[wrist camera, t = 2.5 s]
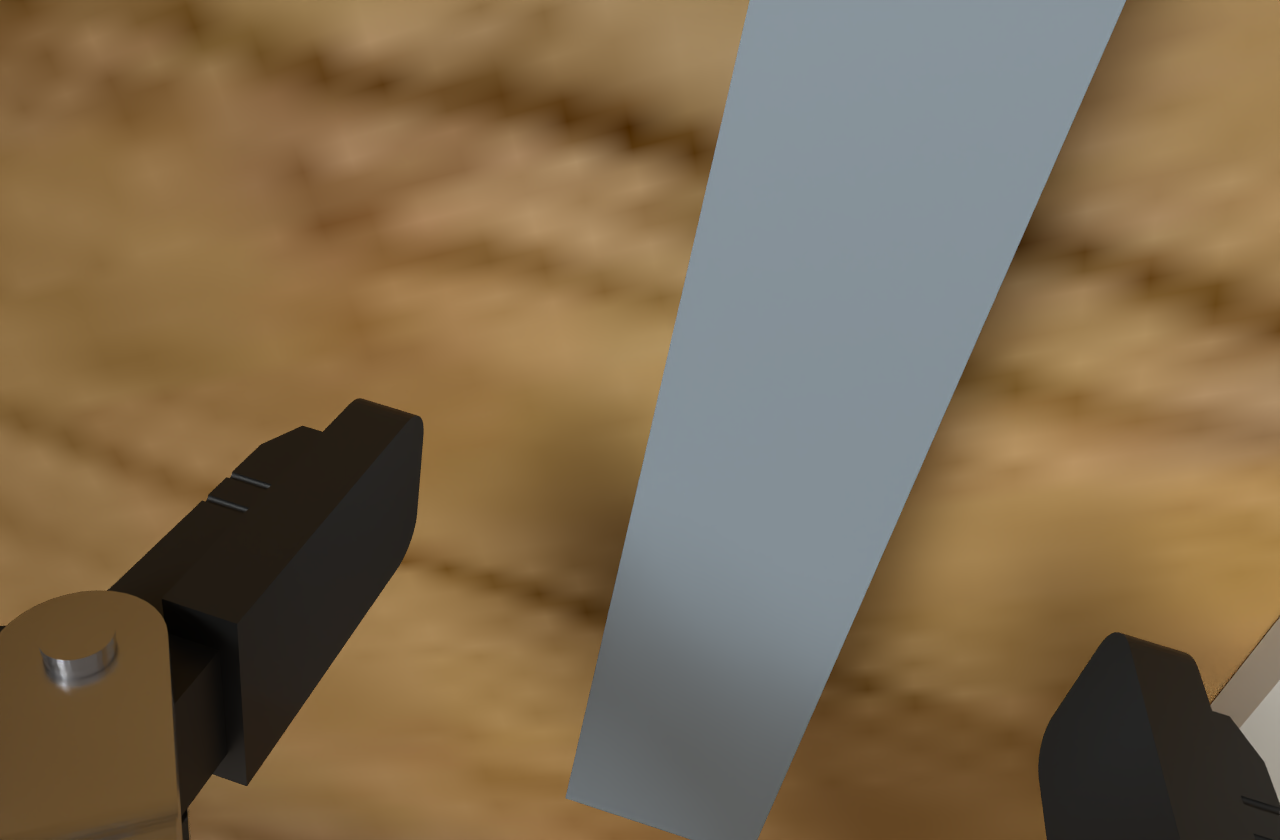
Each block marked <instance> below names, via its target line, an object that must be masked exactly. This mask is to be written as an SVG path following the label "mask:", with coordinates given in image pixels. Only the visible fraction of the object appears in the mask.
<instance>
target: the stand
mask: <svg viewBox="0 0 1280 840" xmlns="http://www.w3.org/2000/svg"><path fill="white" fill-rule="evenodd" d="M1210 706H1211V709H1212V711H1214V712H1218V713H1221V714H1224V715H1227V716H1230V717H1231V719H1232V720H1233V721H1234V723H1235V724H1236V725H1237V726H1238V728H1239V729H1240V730H1241V732H1242V733H1243V734H1244V736H1245V737H1246V738H1247V740H1248V741H1249V742H1250V744H1251V745H1252V746H1253V748H1254V749H1255V750H1256V752H1257V753H1258V754H1259V756H1260V757H1261V758H1262V759H1263V761H1264V762H1265V765H1266V767H1267V770H1268V773H1269V775H1270V778H1271V781H1272V783H1273V786H1274V789H1275V792H1276V794H1277V797H1278V800H1279V802H1280V618H1279V619H1278V620H1277V621H1276V623H1275V624H1274V625H1273V626H1272V628H1271V629H1270V630H1269V631H1268V633H1267V634H1266V635H1265V637H1264V638H1263V639H1262V640H1261V642H1260V643H1259V644H1258V645H1257V647H1256V648H1255V649H1254V650H1253V652H1252V653H1251V654H1250V656H1249V657H1248V658H1247V659H1246V661H1245V662H1244V663H1243V664H1242V666H1241V667H1240V668H1239V670H1238V671H1237V672H1236V673H1235V675H1234V676H1233V677H1232V678H1231V680H1230V681H1229V682H1228V683H1227V685H1226V686H1225V687H1224V689H1223V690H1222V691H1221V692H1220V694H1219V695H1218V696H1217V697H1216V699H1215V700H1214V701H1213V702H1212V704H1211V705H1210Z"/></svg>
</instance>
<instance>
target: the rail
mask: <svg viewBox="0 0 1280 840" xmlns="http://www.w3.org/2000/svg"><path fill="white" fill-rule="evenodd" d="M1125 2H1126V0H750V2H749V6H748V10H747V15H746V19H745V23H744V28H743V32H742V36H741V41H740V45H739V49H738V54H737V58H736V62H735V67H734V71H733V75H732V80H731V84H730V88H729V93H728V97H727V101H726V106H725V110H724V114H723V119H722V123H721V127H720V132H719V136H718V140H717V145H716V149H715V153H714V158H713V162H712V166H711V171H710V175H709V179H708V184H707V188H706V192H705V197H704V201H703V205H702V210H701V214H700V218H699V223H698V227H697V231H696V236H695V240H694V244H693V248H692V253H691V257H690V261H689V266H688V270H687V274H686V279H685V283H684V287H683V292H682V296H681V300H680V305H679V309H678V313H677V318H676V322H675V326H674V331H673V335H672V339H671V344H670V348H669V352H668V357H667V361H666V365H665V370H664V374H663V378H662V383H661V387H660V391H659V396H658V400H657V404H656V409H655V413H654V417H653V422H652V426H651V430H650V435H649V439H648V443H647V448H646V452H645V456H644V461H643V465H642V469H641V474H640V478H639V482H638V487H637V491H636V495H635V500H634V504H633V508H632V513H631V517H630V521H629V526H628V530H627V534H626V539H625V543H624V547H623V552H622V556H621V560H620V565H619V569H618V573H617V578H616V582H615V586H614V590H613V595H612V599H611V603H610V608H609V612H608V616H607V621H606V625H605V629H604V634H603V638H602V642H601V647H600V651H599V655H598V660H597V664H596V668H595V673H594V677H593V681H592V686H591V690H590V694H589V699H588V703H587V707H586V712H585V716H584V720H583V725H582V729H581V733H580V738H579V742H578V746H577V751H576V755H575V759H574V764H573V768H572V772H571V777H570V781H569V785H568V790H567V794H566V798H567V799H570V800H573V801H576V802H579V803H582V804H585V805H588V806H591V807H594V808H597V809H600V810H603V811H606V812H609V813H612V814H615V815H618V816H621V817H624V818H627V819H630V820H633V821H636V822H639V823H642V824H645V825H648V826H651V827H655V828H658V829H661V830H664V831H667V832H670V833H673V834H676V835H679V836H682V837H685V838H688V839H691V840H757V839H758V837H759V835H760V832H761V830H762V828H763V825H764V823H765V821H766V819H767V816H768V814H769V812H770V809H771V807H772V805H773V803H774V800H775V798H776V796H777V794H778V791H779V789H780V787H781V784H782V782H783V780H784V778H785V775H786V773H787V771H788V769H789V766H790V764H791V762H792V759H793V757H794V755H795V753H796V750H797V748H798V746H799V744H800V741H801V739H802V737H803V734H804V732H805V730H806V728H807V725H808V723H809V721H810V718H811V716H812V714H813V712H814V709H815V707H816V705H817V703H818V700H819V698H820V696H821V693H822V691H823V689H824V687H825V684H826V682H827V680H828V678H829V675H830V673H831V671H832V668H833V666H834V664H835V662H836V659H837V657H838V655H839V653H840V650H841V648H842V646H843V643H844V641H845V639H846V637H847V634H848V632H849V630H850V627H851V625H852V623H853V621H854V618H855V616H856V614H857V612H858V609H859V607H860V605H861V602H862V600H863V598H864V596H865V593H866V591H867V589H868V587H869V584H870V582H871V580H872V577H873V575H874V573H875V571H876V568H877V566H878V564H879V561H880V559H881V557H882V555H883V552H884V550H885V548H886V546H887V543H888V541H889V539H890V536H891V534H892V532H893V530H894V527H895V525H896V523H897V521H898V518H899V516H900V514H901V511H902V509H903V507H904V505H905V502H906V500H907V498H908V496H909V493H910V491H911V489H912V486H913V484H914V482H915V480H916V477H917V475H918V473H919V470H920V468H921V466H922V464H923V461H924V459H925V457H926V455H927V452H928V450H929V448H930V445H931V443H932V441H933V439H934V436H935V434H936V432H937V430H938V427H939V425H940V423H941V420H942V418H943V416H944V414H945V411H946V409H947V407H948V405H949V402H950V400H951V398H952V395H953V393H954V391H955V389H956V386H957V384H958V382H959V379H960V377H961V375H962V373H963V370H964V368H965V366H966V364H967V361H968V359H969V357H970V354H971V352H972V350H973V348H974V345H975V343H976V341H977V339H978V336H979V334H980V332H981V329H982V327H983V325H984V323H985V320H986V318H987V316H988V314H989V311H990V309H991V307H992V304H993V302H994V300H995V298H996V295H997V293H998V291H999V288H1000V286H1001V284H1002V282H1003V279H1004V277H1005V275H1006V273H1007V270H1008V268H1009V266H1010V263H1011V261H1012V259H1013V257H1014V254H1015V252H1016V250H1017V248H1018V245H1019V243H1020V241H1021V238H1022V236H1023V234H1024V232H1025V229H1026V227H1027V225H1028V223H1029V220H1030V218H1031V216H1032V213H1033V211H1034V209H1035V207H1036V204H1037V202H1038V200H1039V197H1040V195H1041V193H1042V191H1043V188H1044V186H1045V184H1046V182H1047V179H1048V177H1049V175H1050V172H1051V170H1052V168H1053V166H1054V163H1055V161H1056V159H1057V157H1058V154H1059V152H1060V150H1061V147H1062V145H1063V143H1064V141H1065V138H1066V136H1067V134H1068V132H1069V129H1070V127H1071V125H1072V122H1073V120H1074V118H1075V116H1076V113H1077V111H1078V109H1079V106H1080V104H1081V102H1082V100H1083V97H1084V95H1085V93H1086V91H1087V88H1088V86H1089V84H1090V81H1091V79H1092V77H1093V75H1094V72H1095V70H1096V68H1097V66H1098V63H1099V61H1100V59H1101V56H1102V54H1103V52H1104V50H1105V47H1106V45H1107V43H1108V41H1109V38H1110V36H1111V34H1112V31H1113V29H1114V27H1115V25H1116V22H1117V20H1118V18H1119V15H1120V13H1121V11H1122V9H1123V6H1124V4H1125Z"/></svg>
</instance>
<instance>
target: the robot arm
mask: <svg viewBox="0 0 1280 840" xmlns="http://www.w3.org/2000/svg"><path fill="white" fill-rule="evenodd" d="M423 431H424V428H423V421H422V419H421V417H419V416H417V415H414V414H410V413H407V412H404V411H401V410H397V409H394V408H391V407H388V406H384V405H381V404H378V403H374V402H371V401H368V400H365V399H360V398H359V399H356V400H354V401H353V402H352V403H350V404H349V405H348V406H347V407H346V408H345V409H344V411H343V412H342V413H341V414H340V415H339V416H338V417H337V418H336V419H335V420H334V421H333V422H332V423H331V424H330V425H329V426H328V427H327V428H326V429H325V430H324V431H323V432H321V431H318V430H315V429H311V428H308V427H305V426H301V427H299V428H296V429H294V430H292V431H290V432H288V433H285V434H283V435H281V436H279V437H276V438H274V439H272V440H270V441H268V442H265V443H263V444H261V445H260V446H259V447H258V448H257V449H256V450H255V451H254V452H253V453H252V454H250V455H249V456H248V457H247V458H246V459H245V460H244V461H243V462H242V463H241V464H240V465H239V466H238V467H237V468H236V469H235V470H234V471H233V472H232V475H231V477H230V478H227V477H226V478H225V479H224V480H223V481H222V482H221V483H220V484H219V485H218V486H217V487H216V488H215V489H214V490H213V491H212V492H211V493H210V494H209V495H208V499H207V500H206V502H205V501H201V502H200V503H199V504H198V505H197V506H196V507H195V508H194V509H193V510H192V511H191V512H190V513H189V514H188V515H187V516H185V517H184V518H183V519H182V520H181V521H180V522H179V523H178V524H177V525H176V526H175V527H174V528H173V529H172V530H171V531H170V532H169V533H168V534H167V535H166V536H165V537H163V538H162V539H161V540H160V541H159V542H158V543H157V544H156V545H155V546H154V547H153V548H152V549H151V550H150V551H149V552H148V553H147V554H146V555H145V556H144V557H143V558H141V559H140V560H139V561H138V562H137V563H136V564H135V565H134V566H133V567H132V568H131V569H130V570H129V571H128V572H127V573H126V574H125V575H124V576H123V577H122V578H120V579H119V580H118V581H117V582H116V583H115V584H114V585H113V586H112V587H111V588H110V589H108V590H107V591H97V590H96V591H84V592H77V593H72V594H67V595H63V596H60V597H57V598H53V599H50V600H48V601H46V602H43V603H41V604H38V605H36V606H34V607H33V608H31V609H29V610H27V611H25V612H24V613H22V614H21V615H19V616H18V617H17V618H15V619H14V620H12V621H11V622H10V623H9V624H8V625H7V626H0V840H191V834H190V819H189V808H188V807H189V805H190V804H191V802H192V801H193V800H194V798H195V797H196V796H197V794H198V793H199V792H200V790H201V789H202V788H203V786H204V785H205V783H206V782H207V781H208V779H209V778H210V777H211V775H212V774H213V775H216V776H219V777H222V778H225V779H228V780H231V781H233V782H236V783H239V784H242V785H245V786H247V785H248V784H249V782H250V781H251V780H252V778H253V777H254V775H255V774H256V772H257V771H258V769H259V768H260V767H261V765H262V764H263V762H264V761H265V759H266V758H267V756H268V755H269V753H270V752H271V751H272V749H273V748H274V746H275V745H276V743H277V742H278V740H279V739H280V738H281V736H282V735H283V733H284V732H285V730H286V729H287V727H288V726H289V725H290V723H291V722H292V720H293V719H294V717H295V716H296V714H297V713H298V712H299V710H300V709H301V707H302V706H303V704H304V703H305V701H306V700H307V699H308V697H309V696H310V694H311V693H312V691H313V690H314V688H315V687H316V686H317V684H318V683H319V681H320V680H321V678H322V677H323V675H324V674H325V673H326V671H327V670H328V668H329V667H330V665H331V664H332V662H333V661H334V659H335V658H336V657H337V655H338V654H339V652H340V651H341V649H342V648H343V646H344V645H345V644H346V642H347V641H348V639H349V638H350V636H351V635H352V633H353V632H354V631H355V629H356V628H357V626H358V625H359V623H360V622H361V620H362V619H363V618H364V616H365V615H366V613H367V612H368V610H369V609H370V607H371V606H372V605H373V603H374V602H375V600H376V599H377V597H378V596H379V594H380V593H381V592H382V590H383V589H384V587H385V586H386V584H387V583H388V581H389V580H390V579H391V577H392V576H393V574H394V573H395V571H396V570H397V568H398V567H399V565H400V564H401V562H402V560H403V558H404V556H405V554H406V552H407V549H408V547H409V544H410V541H411V539H412V535H413V532H414V528H415V524H416V518H417V508H418V495H419V483H420V470H421V458H422V446H423ZM1038 773H1039V783H1040V791H1041V798H1042V806H1043V813H1044V821H1045V829H1046V836H1047V840H1280V802H1279V800H1278V797H1277V794H1276V792H1275V789H1274V786H1273V783H1272V781H1271V778H1270V775H1269V773H1268V770H1267V767H1266V765H1265V762H1264V761H1263V759H1262V758H1261V757H1260V756H1259V754H1258V753H1257V752H1256V750H1255V749H1254V748H1253V746H1252V745H1251V744H1250V742H1249V741H1248V740H1247V738H1246V737H1245V736H1244V734H1243V733H1242V732H1241V730H1240V729H1239V728H1238V726H1237V725H1236V724H1235V723H1234V721H1233V720H1232V719H1231V717H1230V716H1227V715H1224V714H1221V713H1218V712H1214V711H1212V709H1211V706H1210V703H1209V700H1208V697H1207V694H1206V691H1205V688H1204V685H1203V682H1202V679H1201V676H1200V673H1199V670H1198V667H1197V665H1196V662H1195V661H1194V659H1193V658H1192V657H1191V656H1190V655H1189V654H1187V653H1184V652H1181V651H1178V650H1174V649H1171V648H1168V647H1165V646H1161V645H1158V644H1155V643H1152V642H1148V641H1145V640H1142V639H1138V638H1135V637H1132V636H1129V635H1125V634H1122V633H1119V632H1115V633H1112V634H1110V635H1109V636H1107V637H1106V638H1105V639H1104V640H1103V642H1102V643H1101V644H1100V646H1099V647H1098V649H1097V650H1096V652H1095V653H1094V655H1093V656H1092V658H1091V659H1090V661H1089V662H1088V664H1087V665H1086V667H1085V668H1084V670H1083V671H1082V673H1081V674H1080V676H1079V677H1078V679H1077V680H1076V682H1075V683H1074V685H1073V686H1072V688H1071V689H1070V691H1069V692H1068V694H1067V695H1066V697H1065V698H1064V700H1063V701H1062V703H1061V705H1060V706H1059V708H1058V709H1057V711H1056V712H1055V714H1054V715H1053V717H1052V718H1051V720H1050V722H1049V724H1048V726H1047V728H1046V731H1045V733H1044V736H1043V740H1042V744H1041V748H1040V754H1039V764H1038Z"/></svg>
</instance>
